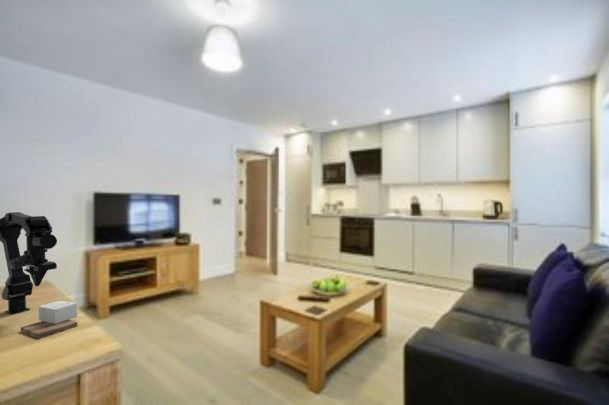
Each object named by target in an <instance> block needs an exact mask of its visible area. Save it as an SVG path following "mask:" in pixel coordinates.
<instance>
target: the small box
mask: <svg viewBox="0 0 609 405" xmlns="http://www.w3.org/2000/svg"><path fill="white" fill-rule="evenodd" d="M77 306H78V303H77V302H73V301H72V302H71V301H67V300H66V301H65V300H58V301H57V300H56V301H54V302H51V303H46V304H42V305H40V306H38V322H41V321H43V322H48V323H53V324H57V323H60V322H63V321H66V320H71V319H75V318H77V316H78V312H77V309H78V307H77Z"/></svg>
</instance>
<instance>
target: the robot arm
mask: <svg viewBox="0 0 609 405" xmlns="http://www.w3.org/2000/svg"><path fill="white" fill-rule="evenodd" d="M22 230H23V231H24V232H25V234H24V236H25V237H26V249H25V250H24V251H23V254H22V255H21V252H20V248H19V243H18V242H19V241H18V239H19V237H20V236H21V234H22V232H21V231H22ZM52 233H53V227H52V225H51V224H50V221H49V219H48V218H47V217H46V216H45V215H39V216H38V215H37V216H35V215H34V216H32V215H28V214H25V213H22V212H19V211H17V212H16V211H15V212H7V213H5V214H4V216H3V217H1V218H0V242H1V243H2V245H3V251H4V256H5V260H6V262H5V263H6V268H7V272H8V277H7V278H6V281H5V282H4V283H5V285H4V287H3V290H2V292H1V299H2V300H5V301H7V304H8V306H7V308H8V309H7V310H5V311H4V313H6V314H9V315H14V314H19V313H23V312H25V311H30V310H31V308H30V307H27V297H28V296H31V295H32V293H33V288H34V287H40V285H41V283H42V282H43V279H44V277H45V275H46V274H47V272H48V271H49V270H57V268H58V266H57V263H56V262H55V261H51V260H48V258H46V253H47V252H48V250H49V249H52V248H54V247H55V246H56V245H57V243H58V239H57V237H56V236H55V235H54V234H52ZM24 267H25V269H24ZM24 271H25V272H26V273H25V272H24ZM28 273H29V274H28Z"/></svg>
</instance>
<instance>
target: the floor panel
mask: <svg viewBox="0 0 609 405" xmlns="http://www.w3.org/2000/svg"><path fill="white" fill-rule="evenodd" d="M76 327H78V321H75V320H71V319H69V320H66V321H63V322H60V323H57V324H53V323H48V322H43V321H38V322H34V323H31V324H28V325H25V326H20V332H21V333H24V334H26V335H29V336H31V337H34V338H36V339H39V340H40V339H42V338H46V337H49V336H51V335H56V334H58V333H61V332H64V331H67V330H70V329H74V328H76Z"/></svg>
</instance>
